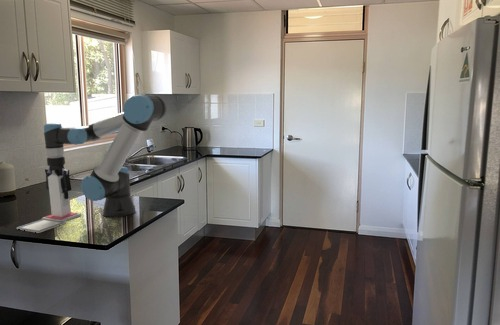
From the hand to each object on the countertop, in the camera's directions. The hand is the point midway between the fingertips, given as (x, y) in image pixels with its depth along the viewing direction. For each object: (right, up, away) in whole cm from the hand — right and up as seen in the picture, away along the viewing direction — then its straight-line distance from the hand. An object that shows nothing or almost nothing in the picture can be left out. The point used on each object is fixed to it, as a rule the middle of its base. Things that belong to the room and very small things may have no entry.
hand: (60, 204), depth 193 cm
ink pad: (0, -6, +1) cm, 7 cm away
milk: (0, -5, +1) cm, 5 cm away
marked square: (-3, -9, -11) cm, 14 cm away
